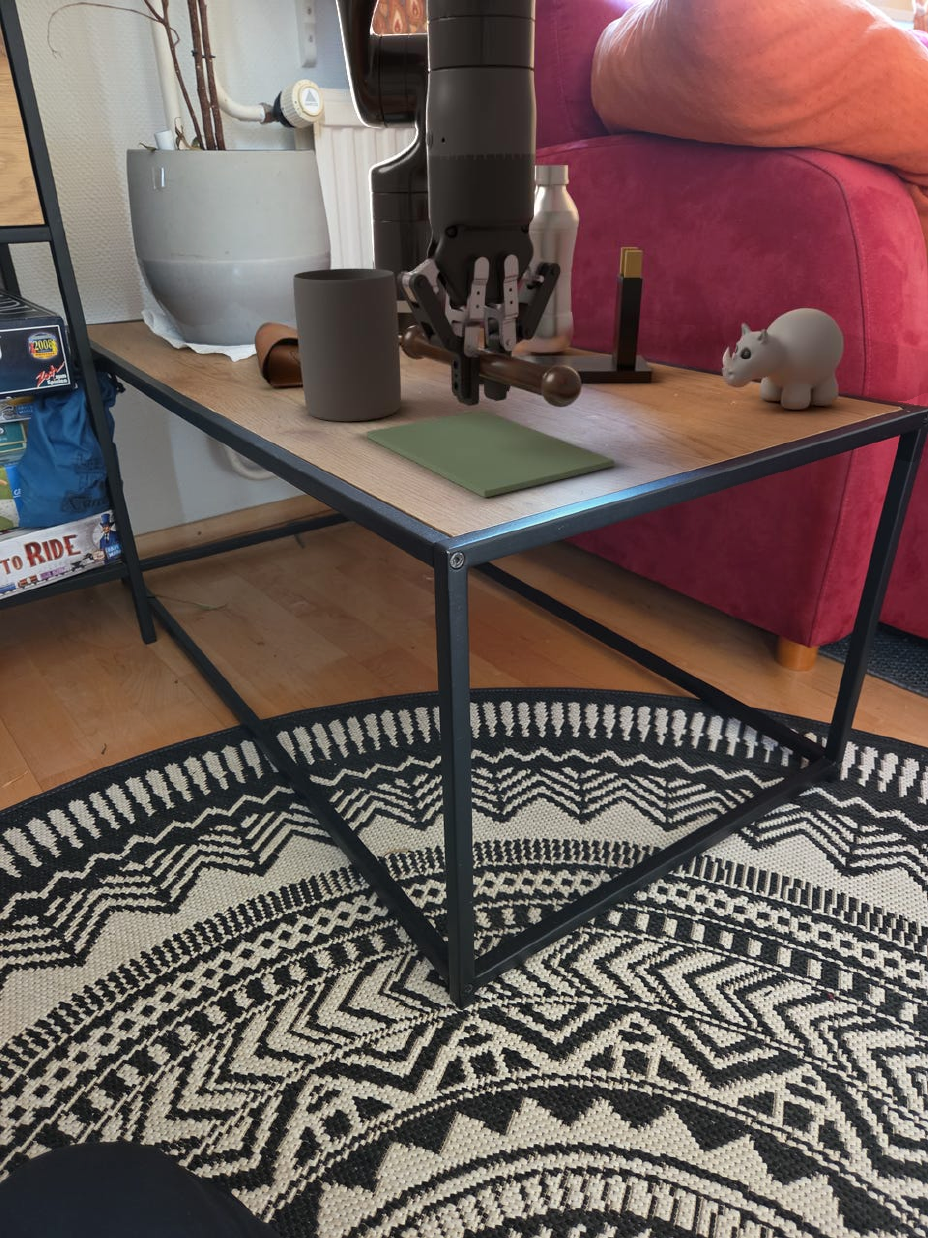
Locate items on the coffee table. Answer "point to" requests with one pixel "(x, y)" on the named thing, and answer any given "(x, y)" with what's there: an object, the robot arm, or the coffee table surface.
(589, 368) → the rack
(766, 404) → the coffee table surface
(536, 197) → the silver metal bottle
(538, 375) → the knobbed wooden handle
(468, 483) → the mat
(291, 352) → the sunglasses case
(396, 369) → the mug
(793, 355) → the toy rhinoceros
